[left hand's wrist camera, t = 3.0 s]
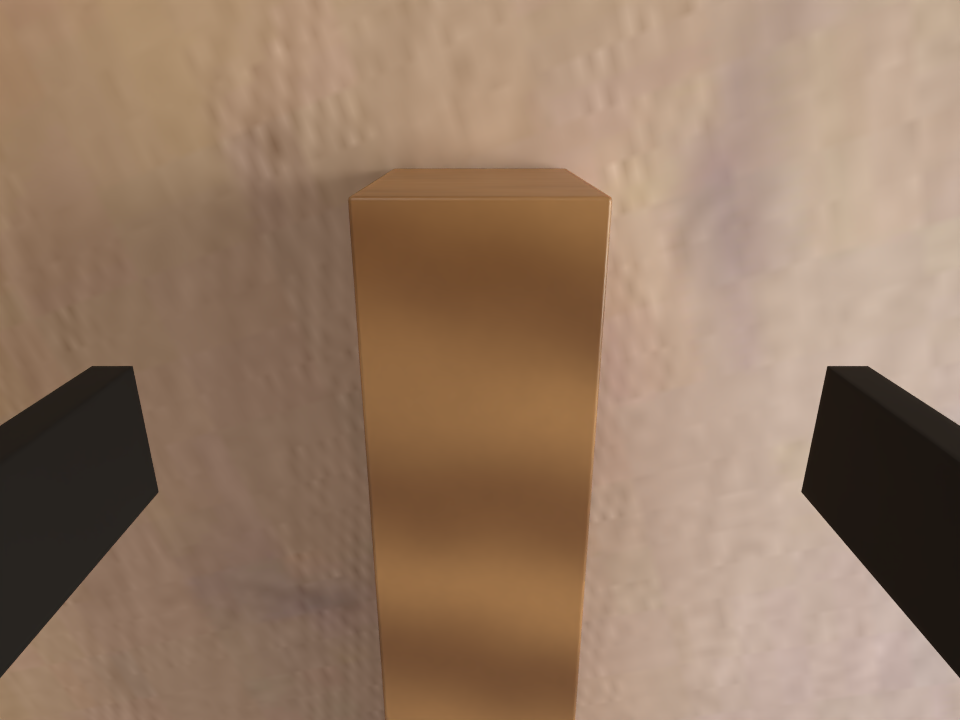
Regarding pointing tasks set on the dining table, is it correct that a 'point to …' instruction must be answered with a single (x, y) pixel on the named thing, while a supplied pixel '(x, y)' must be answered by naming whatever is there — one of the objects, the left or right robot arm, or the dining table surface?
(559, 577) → the beam
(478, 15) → the dining table surface
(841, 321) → the dining table surface
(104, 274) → the dining table surface
